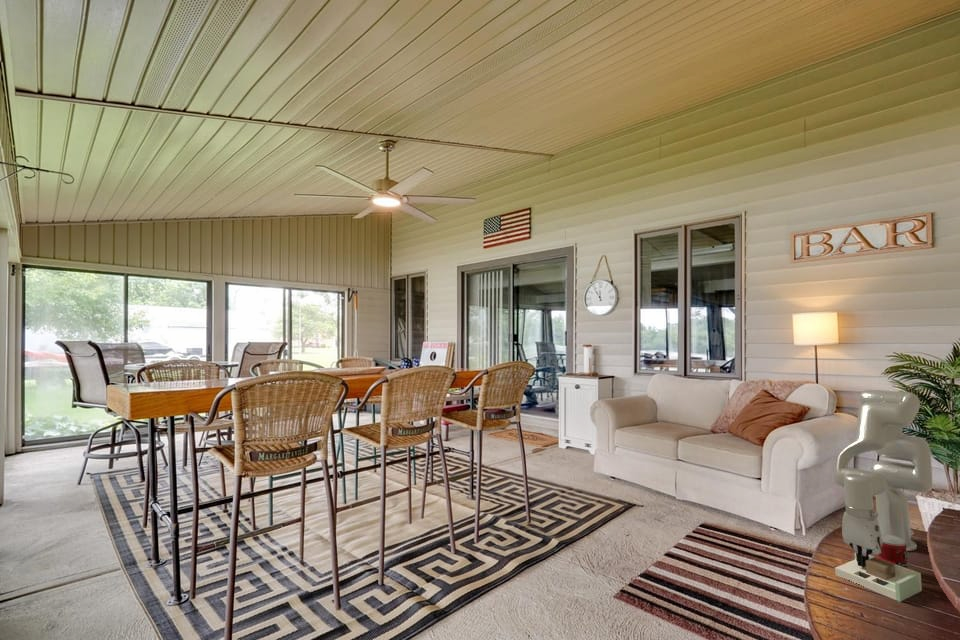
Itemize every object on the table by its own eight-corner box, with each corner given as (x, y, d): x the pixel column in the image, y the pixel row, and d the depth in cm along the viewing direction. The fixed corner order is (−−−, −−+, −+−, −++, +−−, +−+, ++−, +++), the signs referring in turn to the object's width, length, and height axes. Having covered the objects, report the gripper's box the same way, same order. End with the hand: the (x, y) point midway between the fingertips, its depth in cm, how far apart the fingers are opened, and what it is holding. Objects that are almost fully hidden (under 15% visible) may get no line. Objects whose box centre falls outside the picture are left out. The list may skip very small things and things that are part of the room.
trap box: (857, 565, 164) (856, 550, 165) (921, 590, 148) (920, 573, 148) (835, 575, 159) (834, 559, 159) (900, 601, 143) (898, 583, 143)
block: (875, 568, 157) (874, 557, 158) (895, 576, 152) (894, 564, 153) (866, 572, 155) (865, 560, 155) (885, 580, 150) (885, 568, 150)
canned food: (902, 579, 155) (899, 546, 155) (873, 568, 162) (871, 537, 162) (912, 572, 159) (910, 540, 159) (883, 563, 166) (881, 532, 166)
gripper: (892, 517, 154) (895, 572, 153) (841, 502, 167) (845, 554, 167) (879, 521, 151) (883, 578, 150) (829, 506, 164) (832, 558, 164)
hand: (863, 565), depth 159 cm, fingers closed
